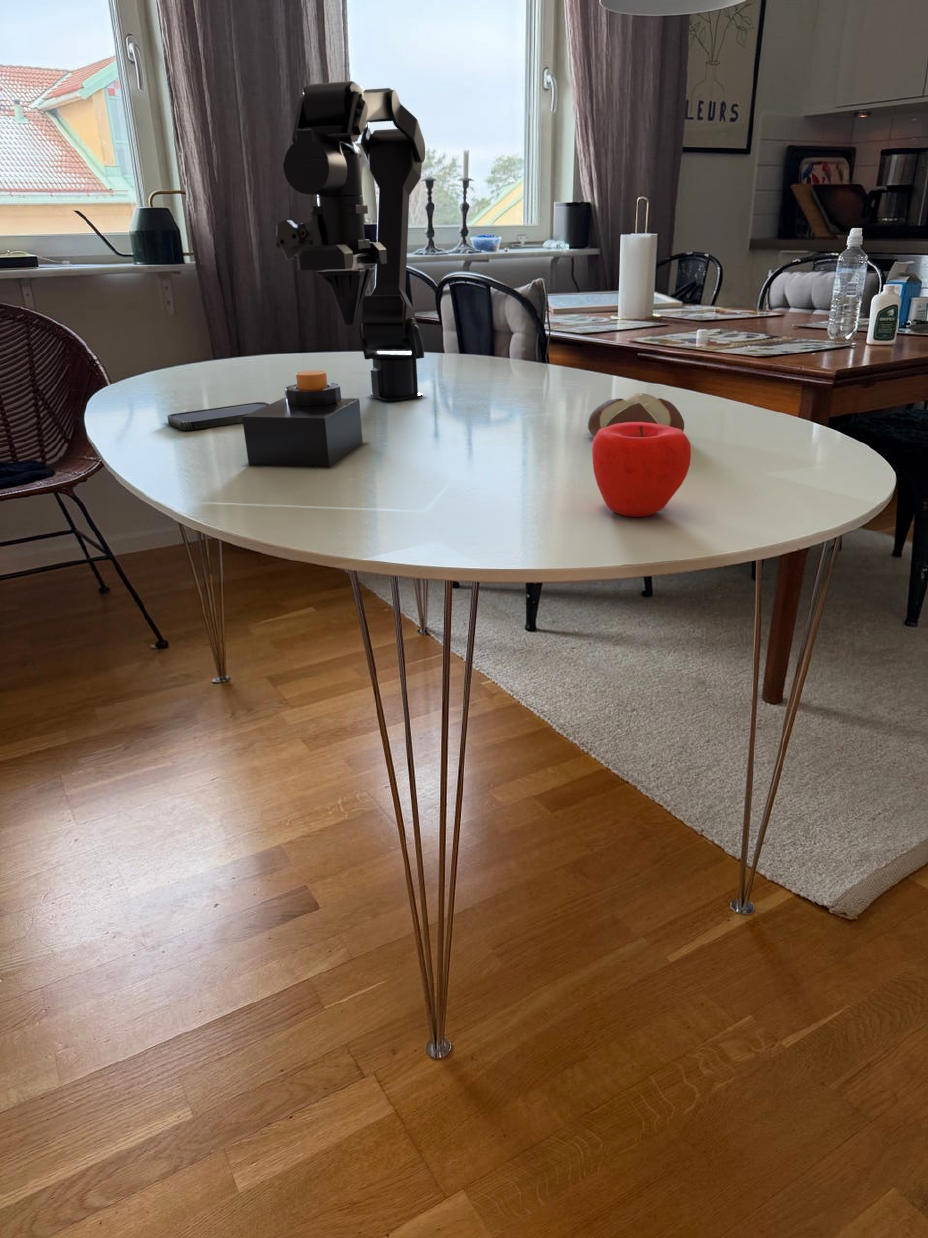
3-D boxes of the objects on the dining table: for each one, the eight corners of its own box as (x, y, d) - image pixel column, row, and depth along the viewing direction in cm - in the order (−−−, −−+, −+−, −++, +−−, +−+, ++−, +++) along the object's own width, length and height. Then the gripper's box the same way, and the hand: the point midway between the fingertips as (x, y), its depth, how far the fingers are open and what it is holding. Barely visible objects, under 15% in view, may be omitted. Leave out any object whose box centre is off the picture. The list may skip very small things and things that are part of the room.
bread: (647, 424, 114) (649, 386, 112) (697, 442, 104) (700, 400, 102) (572, 433, 110) (573, 393, 108) (616, 452, 101) (618, 409, 98)
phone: (165, 414, 123) (262, 401, 131) (166, 422, 124) (263, 408, 131) (183, 423, 117) (284, 408, 125) (184, 431, 118) (285, 415, 125)
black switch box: (291, 441, 111) (284, 381, 108) (364, 442, 109) (360, 382, 106) (248, 465, 100) (239, 400, 96) (329, 468, 98) (323, 401, 94)
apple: (706, 513, 78) (714, 428, 75) (632, 532, 74) (638, 442, 71) (640, 491, 85) (645, 412, 82) (570, 507, 81) (572, 424, 78)
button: (304, 387, 106) (302, 370, 105) (331, 387, 105) (330, 370, 104) (293, 392, 103) (291, 374, 102) (321, 392, 102) (319, 375, 101)
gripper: (308, 200, 119) (319, 318, 126) (250, 197, 103) (266, 333, 109) (384, 197, 117) (391, 317, 124) (337, 193, 101) (348, 332, 107)
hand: (350, 324), depth 116 cm, fingers closed
